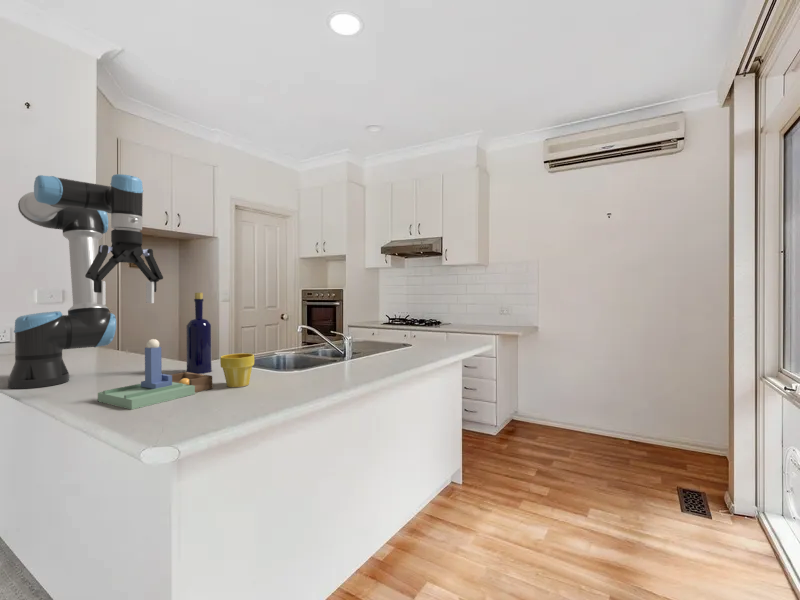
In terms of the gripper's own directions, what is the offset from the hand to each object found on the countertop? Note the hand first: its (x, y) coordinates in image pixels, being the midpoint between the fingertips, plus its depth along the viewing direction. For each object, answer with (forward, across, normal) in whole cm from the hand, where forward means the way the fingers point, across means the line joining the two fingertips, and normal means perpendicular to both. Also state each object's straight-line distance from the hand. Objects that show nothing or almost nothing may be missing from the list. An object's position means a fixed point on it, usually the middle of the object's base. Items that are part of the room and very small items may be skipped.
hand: (126, 303), depth 119 cm
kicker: (+24, +3, -8) cm, 26 cm away
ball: (+25, +12, -9) cm, 29 cm away
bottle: (+28, +33, +12) cm, 45 cm away
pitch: (+27, +1, -9) cm, 28 cm away
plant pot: (+27, +24, -19) cm, 40 cm away
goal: (+27, +14, -9) cm, 31 cm away
